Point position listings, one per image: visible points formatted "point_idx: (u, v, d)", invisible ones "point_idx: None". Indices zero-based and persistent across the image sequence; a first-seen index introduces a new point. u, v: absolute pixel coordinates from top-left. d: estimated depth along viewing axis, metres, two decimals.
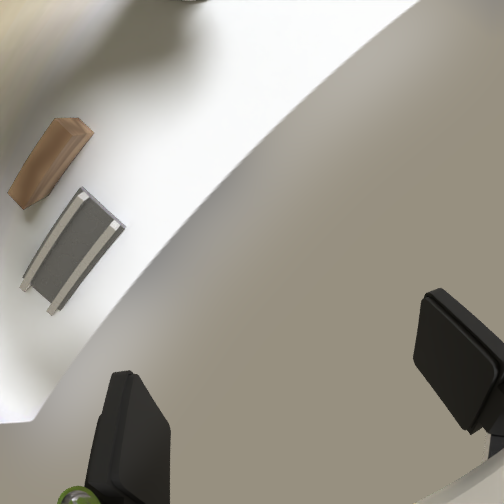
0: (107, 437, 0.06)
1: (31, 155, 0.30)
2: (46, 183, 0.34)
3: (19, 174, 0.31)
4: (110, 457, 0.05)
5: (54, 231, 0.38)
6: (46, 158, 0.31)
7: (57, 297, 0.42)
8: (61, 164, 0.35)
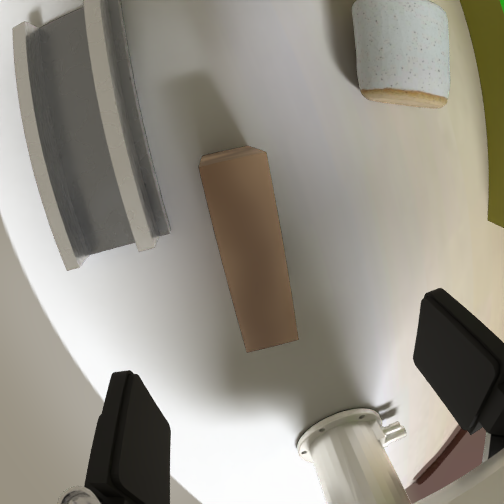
0: (107, 437, 0.06)
1: (282, 266, 0.18)
2: None
3: (273, 214, 0.17)
4: (110, 457, 0.05)
5: (123, 153, 0.18)
6: (250, 292, 0.18)
7: (24, 66, 0.15)
8: None
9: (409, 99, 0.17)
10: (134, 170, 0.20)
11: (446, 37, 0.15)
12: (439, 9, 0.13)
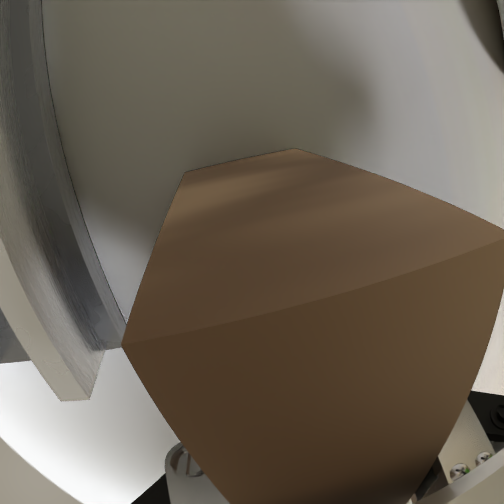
0: None
1: (403, 499, 0.05)
2: None
3: (440, 437, 0.04)
4: None
5: None
6: None
7: None
8: None
9: None
10: (14, 228, 0.06)
11: None
12: None
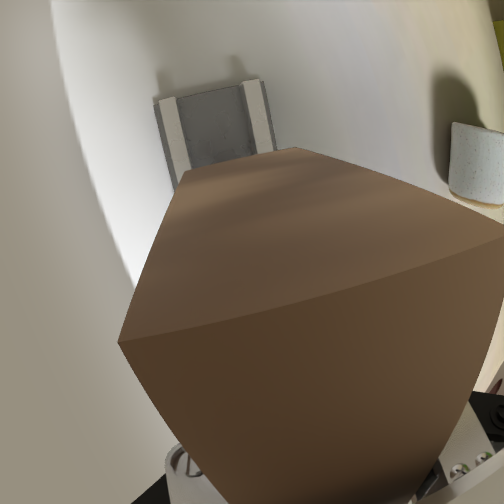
0: None
1: (404, 499, 0.05)
2: None
3: (442, 437, 0.03)
4: None
5: None
6: None
7: (183, 150, 0.22)
8: None
9: (484, 207, 0.25)
10: None
11: None
12: None
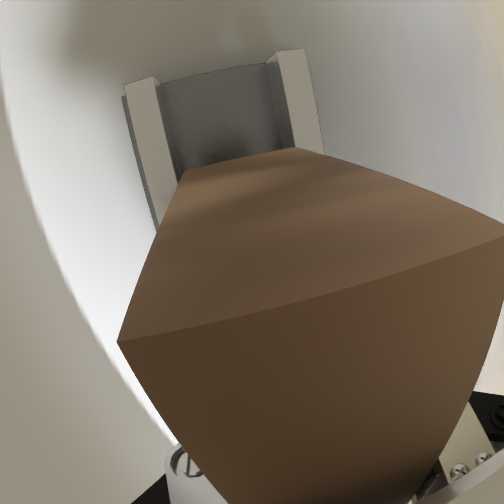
0: None
1: (404, 499, 0.05)
2: None
3: (442, 437, 0.03)
4: None
5: None
6: None
7: (168, 174, 0.12)
8: None
9: None
10: None
11: None
12: None
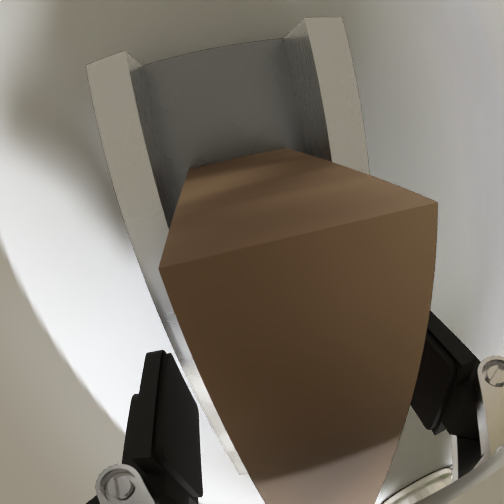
0: (147, 413, 0.07)
1: (385, 457, 0.06)
2: None
3: (406, 383, 0.05)
4: (153, 432, 0.06)
5: None
6: (308, 499, 0.06)
7: (147, 191, 0.08)
8: None
9: None
10: None
11: None
12: None
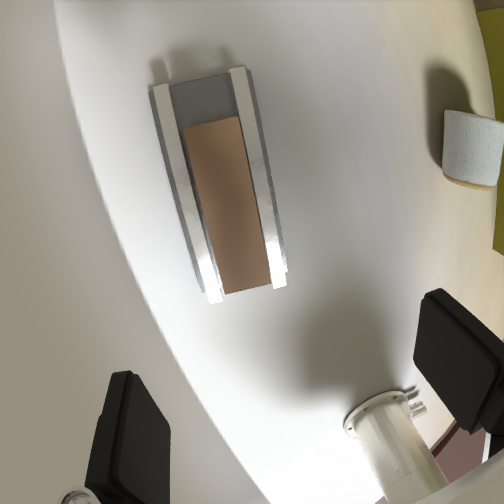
0: (107, 437, 0.06)
1: (253, 212, 0.21)
2: None
3: (245, 167, 0.20)
4: (110, 457, 0.05)
5: (271, 219, 0.27)
6: (226, 236, 0.21)
7: (174, 131, 0.23)
8: None
9: (476, 188, 0.26)
10: None
11: (503, 144, 0.24)
12: (503, 126, 0.22)
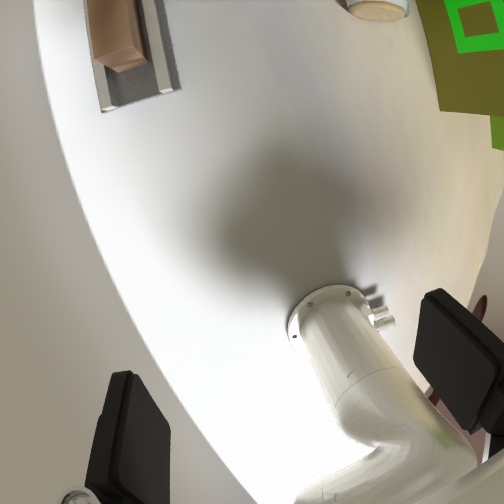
0: (107, 437, 0.06)
1: None
2: None
3: None
4: (110, 457, 0.05)
5: (156, 29, 0.24)
6: (100, 13, 0.18)
7: None
8: None
9: (378, 6, 0.23)
10: (161, 41, 0.25)
11: None
12: None
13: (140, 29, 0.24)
